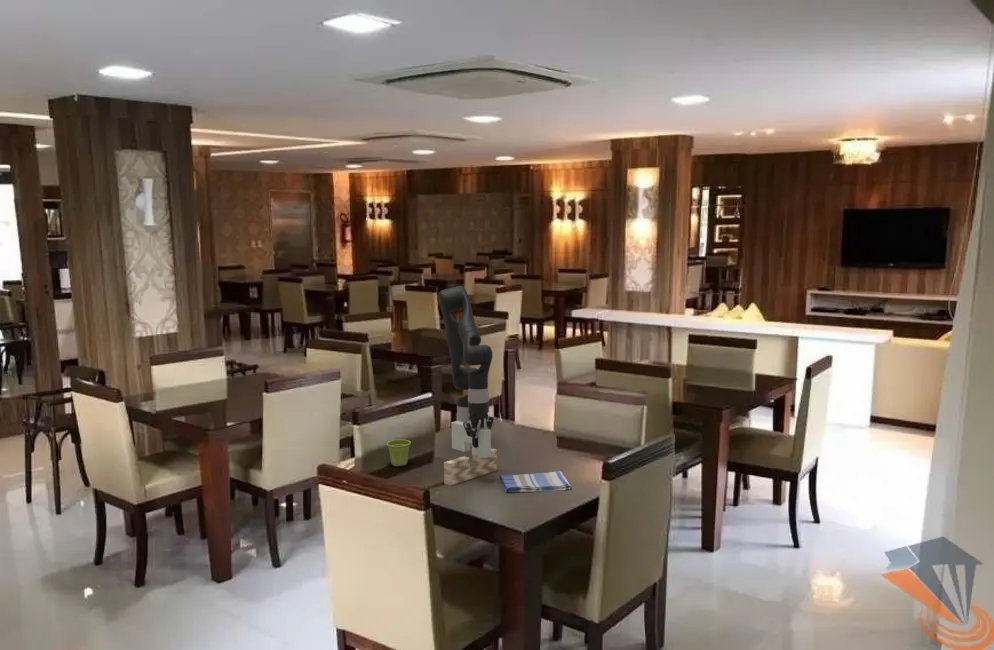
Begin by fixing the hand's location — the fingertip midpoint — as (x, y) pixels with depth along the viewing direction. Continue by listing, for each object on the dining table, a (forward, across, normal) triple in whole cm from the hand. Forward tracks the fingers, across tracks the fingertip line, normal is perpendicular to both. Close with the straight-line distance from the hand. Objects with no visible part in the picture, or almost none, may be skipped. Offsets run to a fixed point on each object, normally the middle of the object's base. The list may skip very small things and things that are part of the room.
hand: (479, 446), depth 266 cm
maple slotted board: (+13, 0, -4) cm, 13 cm away
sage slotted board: (+3, 0, -4) cm, 5 cm away
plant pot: (+13, +9, -36) cm, 40 cm away
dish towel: (+13, -10, +18) cm, 25 cm away
